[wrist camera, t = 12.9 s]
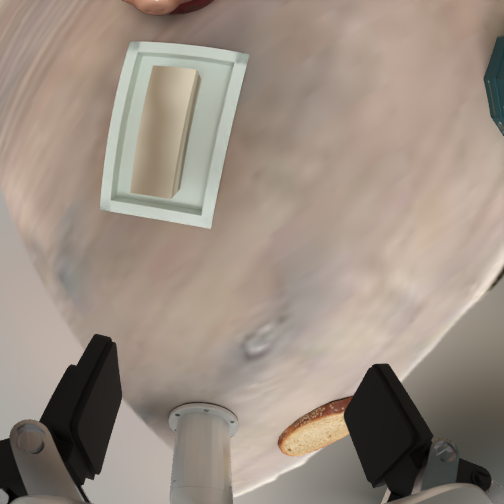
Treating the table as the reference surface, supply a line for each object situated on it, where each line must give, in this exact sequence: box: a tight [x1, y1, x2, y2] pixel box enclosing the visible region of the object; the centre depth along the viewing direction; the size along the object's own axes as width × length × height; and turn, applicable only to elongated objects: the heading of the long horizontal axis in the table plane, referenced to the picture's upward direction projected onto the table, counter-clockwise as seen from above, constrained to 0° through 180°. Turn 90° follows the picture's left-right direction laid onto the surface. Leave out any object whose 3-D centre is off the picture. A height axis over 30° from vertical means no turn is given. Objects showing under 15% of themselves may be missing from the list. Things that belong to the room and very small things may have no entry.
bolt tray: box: [100, 41, 250, 229], centre depth 27 cm, size 18×12×2 cm
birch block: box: [130, 65, 202, 199], centre depth 25 cm, size 4×12×5 cm, turn 168°
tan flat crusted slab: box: [278, 396, 353, 456], centre depth 48 cm, size 18×18×4 cm
